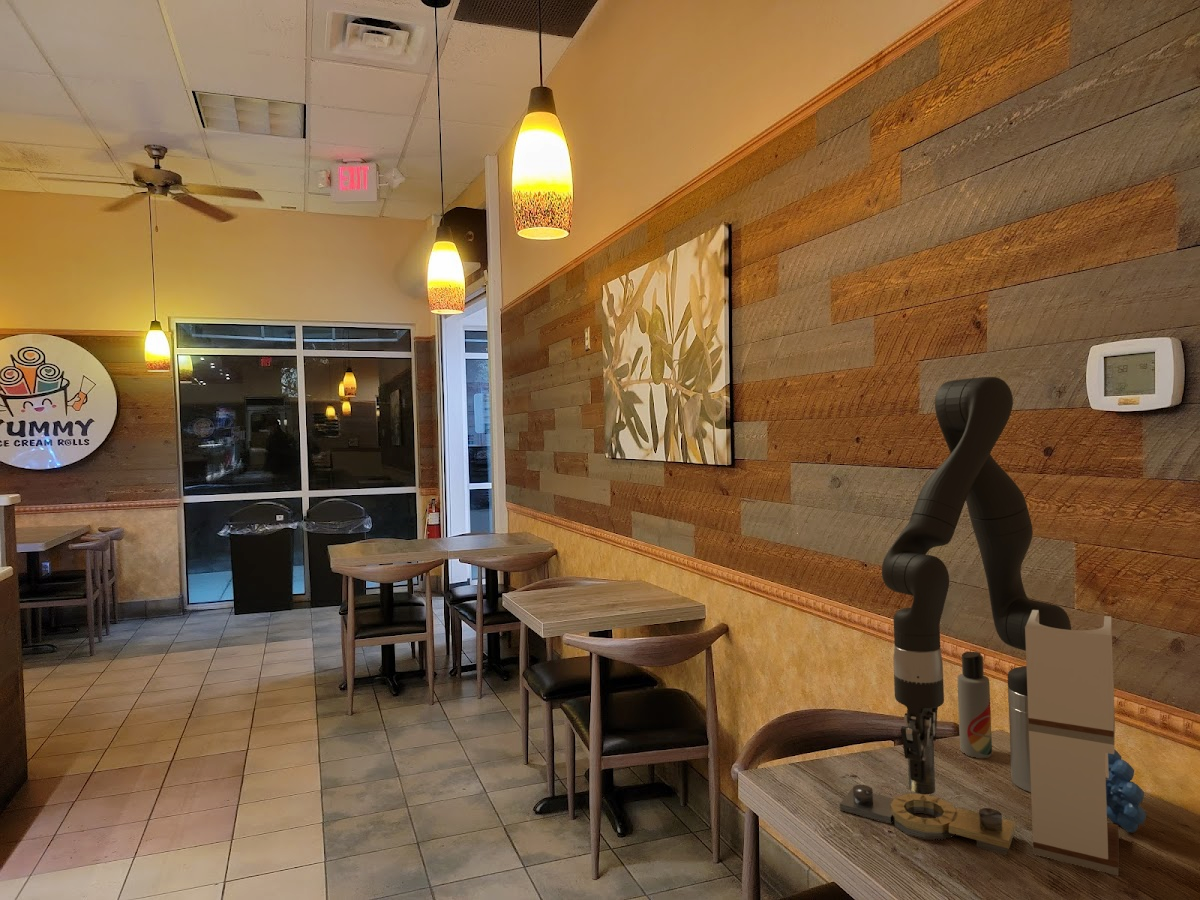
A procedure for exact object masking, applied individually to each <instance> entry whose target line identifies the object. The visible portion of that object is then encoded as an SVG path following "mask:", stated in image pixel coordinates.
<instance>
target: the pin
mask: <svg viewBox="0 0 1200 900" xmlns="http://www.w3.org/2000/svg"><path fill="white" fill-rule="evenodd" d="M920 740H924V738H921V737H920ZM934 742H935V741H933V735H932V734H931V733H929V745H928V746H926V754H925V756H926V759H925V768H926V780H925V782H924V783H920V782H916V781H913V780H911V774H910V759H907V763H908V765H907V766H908V768H907V769H908V788H909V789H910V791H911V792H913V793H915V794H925V795H931V794H934V793H935V792H936V773H935V772H936V771H935V743H934ZM913 751H916V750H915V749H913Z"/></svg>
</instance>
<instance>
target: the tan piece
mask: <svg viewBox="0 0 1200 900" xmlns="http://www.w3.org/2000/svg"><path fill="white" fill-rule="evenodd" d="M873 790H874V789H873V788H872V787H871V786H869V785H866V784H856V785H854V786H853V787H852V788H851V789H850V791H849V792H848V793H847V794H846V795H845V797H844V798H843V799H842V800H841V802H840V803H839V811H840V810H842V811H841V812H843V811H845V812H844V813H847V812H849V813H848V814H851V813H853V814H852V815H854V814H856V815H855V816H858V815H860V816H859V817H862V816H863V817H862V818H866V817H867V818H866V819H869V818H870V820H873V819H874V821H878V820H879V821H878V822H880V821H881V822H880V823H884V822H887V823H886V824H888V823H890V824H889V825H892V823H894V824H893V825H895V826H894V828H896V829H898V830H899V831H901V832H902V831H903V834H906V835H907V836H910V837H914V836H915V838H917V837H918V839H921V840H924V841H925V840H926V841H927V840H928V841H930V840H931V841H932V840H933V841H944V840H947V839H950V838H952V837H955V836H959V837H960V836H961V837H964V838H967V839H972V840H975V841H976V848H978V849H981V850H985V851H989V852H991V853H995V854H999V855H1002V856H1006V855H1007V853H1008V850H1009V849H1010V847H1011V845H1012V841H1013V838H1014V835H1015V833H1016V829H1017V827H1016V821H1014V820H1010V819H1006V818H1003V814H1002V813H1001V812H1000V811H999V810H997V809H993V808H990V807H983V808H980V809H979V810H978V812H977V811H973V810H968V809H965V808H959V807H957V808H955V805H953V804H952V803H950V802H948V801H946V800H944V799H942V798H940V797H937V796H932V795H930V794H919V793H906V794H903V795H898V796H895V797H894V798H892V797H888V796H884V795H880V794H876V793H874V791H873ZM914 813H915V815H914ZM916 813H924V814H923V815H927V814H929V815H928V816H931V815H932V817H934V816H935V818H927V817H926V818H924V817H921V816H916ZM936 817H937V818H936ZM892 821H893V822H892ZM955 834H956V835H955ZM954 835H955V836H954ZM951 836H952V837H951ZM949 837H950V838H949ZM946 838H947V839H946ZM935 839H936V840H935ZM937 839H938V840H937ZM940 839H941V840H940ZM943 839H944V840H943Z"/></svg>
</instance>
